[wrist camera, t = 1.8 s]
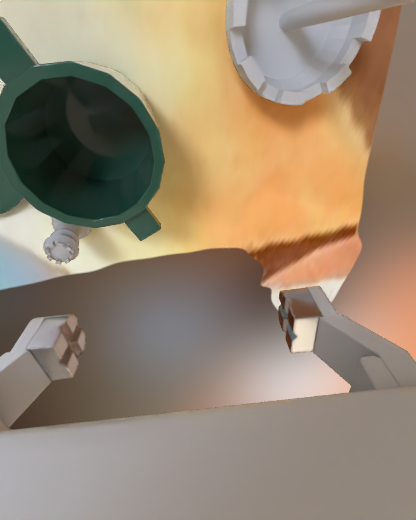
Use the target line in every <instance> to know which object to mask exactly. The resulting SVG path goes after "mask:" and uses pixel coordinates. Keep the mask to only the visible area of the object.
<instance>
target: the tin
mask: <svg viewBox="0 0 416 520" xmlns="http://www.w3.org/2000/svg"><path fill="white" fill-rule="evenodd" d="M0 78H1V79H2V81H3V82H4V83H5V84H6V85H5V86H4V88H3V90H2V92H1V95H0V165H1V167H2V169H3V171H4V173H5V174H6V176H7V178H8V180H9V182H10V184H11V185H12V187H13V188H14V189H15V190H16V191H18V192H19V193H20V194H21V195H22V196H23V197H24V198H25V199H26V200H27V201H28V202H29V203H30V204H31V205H33V206H34V207H35V208H36V209H37V210H39V211H41V212H43V213H45V214H47V215H49V216H51V217H53V218H55V219H57V220H59V221H61V222H63V223H65V224H66V223H67V224H71V225H78V226H84V227H91V228H95V227H96V228H99V227H105V226H110V225H116V224H121V223H124V222H125V224H126V225H127V226H128V227H129V228H130V229H131V231H132V232H133V233H134V234H135V235H136V236H137V238H138V239H139V240H140V241H142V240H143V239H145V238H147V237H148V236H150V235H152V234H154V233H155V232H157V231H159V230H160V229H161V224H160V222H159V221H158V220H157V218H156V217H155V216H154V214H153V213H152V212H151V210H150V209H149V208H148V206H147V205H148V204H149V202H150V201H151V200H152V198H153V197H154V195H155V194H156V192H157V191H158V190H159V188H160V183H161V178H162V173H163V168H164V163H165V159H164V154H163V149H162V143H161V138H160V133H159V129H158V126H157V123H156V120H155V116H154V113H153V111H152V109H151V107H150V106H149V104H148V102H147V100H146V99H145V97H144V96H143V94H142V92H141V91H140V89H139V88H138V87H137V86H135V85H134V84H133V83H132V82H131V81H130V80H128V79H127V78H126V77H124V76H123V75H122V74H121V73H120V72H118V71H116V70H113V69H110V68H107V67H104V66H101V65H98V64H95V63H91V62H76V61H65V62H57V63H48V64H39V63H38V62H37V60H36V59H35V58H34V56H33V55H32V54H31V53H30V51H29V50H28V49H27V47H26V46H25V45H24V43H23V42H22V41H21V39H20V38H19V37H18V35H17V34H16V33H15V31H14V30H13V29H12V27H11V26H10V25H9V24H8V22H7V21H6V20H5V18H3V17H0Z"/></svg>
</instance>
